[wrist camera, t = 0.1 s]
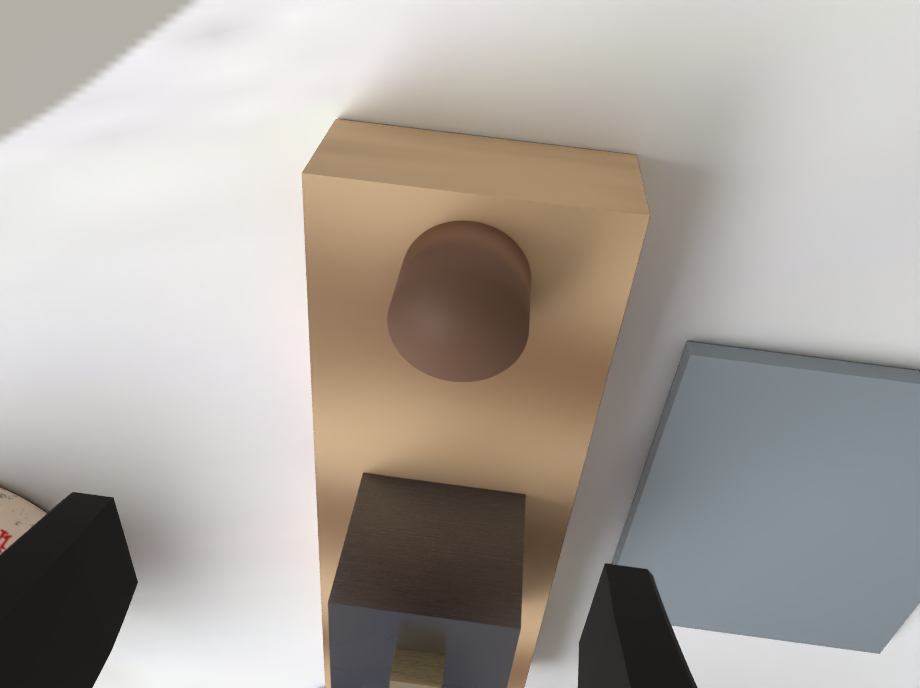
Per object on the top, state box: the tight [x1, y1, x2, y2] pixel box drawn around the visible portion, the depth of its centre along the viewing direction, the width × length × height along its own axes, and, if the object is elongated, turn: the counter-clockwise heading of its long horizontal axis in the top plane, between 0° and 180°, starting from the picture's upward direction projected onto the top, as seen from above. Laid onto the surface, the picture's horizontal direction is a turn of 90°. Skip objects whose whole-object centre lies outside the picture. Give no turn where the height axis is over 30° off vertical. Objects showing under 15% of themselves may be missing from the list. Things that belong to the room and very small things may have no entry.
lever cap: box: [328, 473, 526, 688], centre depth 20 cm, size 5×4×5 cm
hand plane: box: [302, 119, 650, 688], centre depth 22 cm, size 22×7×5 cm, turn 175°
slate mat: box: [612, 341, 920, 654], centre depth 24 cm, size 12×10×1 cm
